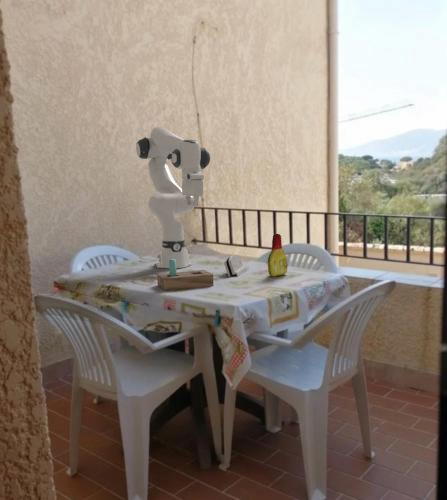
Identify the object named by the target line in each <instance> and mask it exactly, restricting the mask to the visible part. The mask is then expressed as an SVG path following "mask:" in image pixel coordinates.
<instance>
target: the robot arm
mask: <svg viewBox="0 0 447 500" xmlns="http://www.w3.org/2000/svg"><path fill="white" fill-rule="evenodd" d="M149 135H150V136H149V137H143V138H141V139H139V140H138V141H137V142H136V145H135V152H136V154H137V156H138V158H139V159H141V160H147V159H150V160H149V161H148V164H147V165H148V172H149V176H150V178H151V181H152V183H153V184H152V185H153V187H154V189H155V191H156V192H158V194H154V195H153V194H152V195H151V196H150V198H149V200H148V203H147V205H148V209H149V211H150V212H151V213H152V214H153V215H155V216H156V218H157V219H158V221H159V222H160V225H161V231H162V242H161V247H162V248H161V249H160V252H159V253H158V254H156V258H157V259H158V261H156V262H155V266H156V268H157V269H169V259H176V269H181V268H186V267H188V266H192V262H189V261H190V259H189V251H188V249H186V239H185V232H184V228H185V227H184V225H183V224H182V223H181V222H180V221H178V220H177V219H175V217H174V216H175V215H177V214H178V215H179V214H186V213H189V212H192V211H193V210H194V209H195V207H198V205H199V200H200V197H202V196H203V193H204V179H205V175H204V173H203V172H202V170H205V169H206V168H207V167H208V166H209V164H210V163H211V155H210V153H209V151H208V150H207V149H206V147H200V143H199V141H198V140H197V139H196V140H195V139H184V138H183V137H180V136H179V135H176V133H175V134H174V133H173V132H172V131H170V129H168V128H166V127H163V126H156V127H154V128H152V129H151V132H150V134H149ZM167 160H168V161H169V160H170V161H171V164H172V166H173V167H174V168H176V169H180V170H181V180H182V182H181V187H180V185H178V184H177V182H176V181H175V179H174V177H173V175H172V171H171V169H170V167H169V165H168V162H167Z"/></svg>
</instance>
